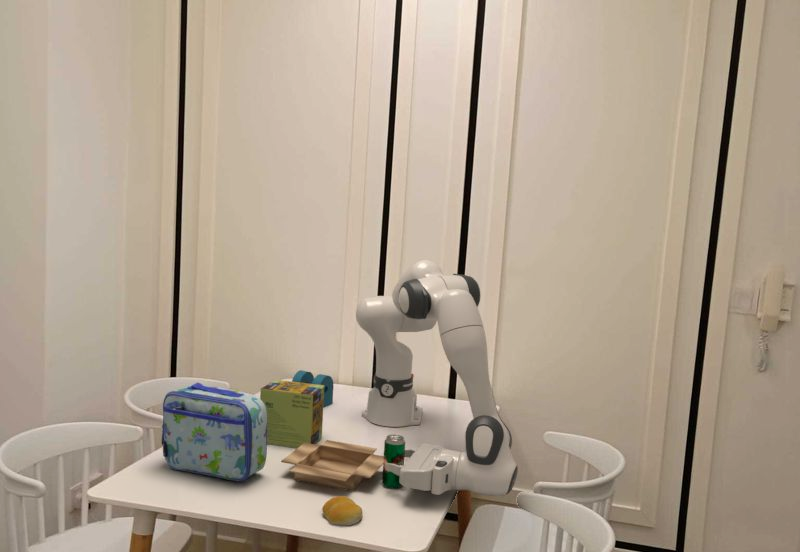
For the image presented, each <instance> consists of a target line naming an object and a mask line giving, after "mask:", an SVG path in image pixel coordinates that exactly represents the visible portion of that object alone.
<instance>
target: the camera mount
mask: <svg viewBox="0 0 800 552" xmlns="http://www.w3.org/2000/svg"><path fill="white" fill-rule="evenodd" d="M291 382H300V383H308V384H316V385H324V402H323V409H324V408H327V407H328V406H331V405H333V401H334V400H333V399H334V380H333V378H332V376H330V375H326V374H317V375H316V376H315V377H314V374H313V373H312V372H311V371H306V370H303V369H300V370H298V371H297V372H296V373H295V374H294V376H293V377H292V380H291ZM326 406H327V407H326Z"/></svg>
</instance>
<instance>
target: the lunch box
mask: <svg viewBox="0 0 800 552" xmlns="http://www.w3.org/2000/svg"><path fill="white" fill-rule="evenodd" d="M162 411H163V413H162V414H163V416H162V425H161V428H162V430H161V433H162V434H161V445H162V456H163V457H164V459H165V462H166V464H167V466H168V467H169V468H170V469H171V470H173V471H182V472H189V473H194V474H200V475H203V476H204V475H205V476H210V477H214V478H219V479H224V480H228V481H232V482H234V481H235V482H244V481H246V480H247V479H248V478H249V477H250V476H252V475H254V474H256V473H257V472H260V471H261V470H263V469H264V467H265V465H266V462H267V461H266V460H267V454H268V453H267V450H268V444H267V411H266V407H265V405H264V403H263V401H262V400H261V399H260V397H258V396H256V395H254V394H251V393H248V392H243V391H240V390H233V389H230V388H223V387H218V386H209V385H205V384H204V385H203V384H202V383H200V382H196V383H193V384H189V385H186V386H184V387H183V388H180V389H176V390H174V391H172V390H171V391H169V392H167V393H166V394H165V396H164V398H163V401H162Z"/></svg>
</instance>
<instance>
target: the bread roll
mask: <svg viewBox="0 0 800 552" xmlns="http://www.w3.org/2000/svg"><path fill="white" fill-rule="evenodd" d="M321 509H322V514H323V516H324V518H326V520H328V522H329V523H330V524H332V525H336V526H351V525H352V526H353V525H355V524H357V523H359V521H361V519H362V517H363V509H362V507H361V506H360V505H358V504H357V503H356V502H355V501H354V500H353V499H352V498H351V497H348V496H344V495H337V496H334V497H332V498H330V499H328V500H327V501H326V502H325V503H324V504H323V506H322V508H321Z"/></svg>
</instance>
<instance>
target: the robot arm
mask: <svg viewBox="0 0 800 552" xmlns="http://www.w3.org/2000/svg"><path fill="white" fill-rule="evenodd" d="M391 294H392V295H375V296H369V297H364V298H362V299H361V300H360V301H359V303H358V305H357V306H356V310H355V318H356V322H357V324H358V326H359V327H360V328H361V329H362V330H363V331H365V332H366V333H367V335H369V337H370V338H371V340H372V342H373V345H374V347H375V357H376V359H375V360H376V361H375V363H376V364H375V374H374V375H373V388H371V389H370V390H369V391H368V394H367V395H368V397H367V404H366V405H367V406H366V410H364V411H362V413H361V417H363V418H365V419H367V421H369V422H370V423H372V424H375V425H377V426H383V427H388V428H389V427H392V428H395V427H396V428H398V427H399V428H400V427H407V426H419V425H421V421H422V417H423V412H424V410H423V407H421V406H417V399H418V397H417V393H416V392H415V390H414V388H413V386H414V376H415V375H414V373H413V372H412V370H413V353H412V350H411V348H409V346H407V345H406V344H404V343H402V342H400V341H399V340H397V333H418V332H425V331H429V330H432V329H433V328H434V327H435V326H436V324H437V326H438V331H439V337H440V342H441V345H442V349H443V352H444V354H445V357H446V358H447V361H448V363H449V365H450V366H451V367H452V369H453V370H454V371H455V372H456V374H457V375H458V377H459V378H460V380H461V381H462V383H463V385H464V388H465V391H466V394H467V398H468V401H469V406H470V410H471V413H472V418H473V419H471V421H470V422H469V423H468V424H467V426H466V429H465V432H464V439H465V451H458V450H453V449H448V448H446V447H444V446H441V445H436V444H432V443H420V445H418V447H417V448H405V457H404V458H408V459H407V460H406V462H404V465H400V466H398V465H396V464H394V462H387V464H386V465H385V470H386V471H390V472H393V473H394V474H396V475H398V476H399V483H400V484H402V485H401V486H404V487H405V488H410V489H414V490H419V491H424V492H425V491H430V492H431V494H433V495H437V496H438V495H441V494H443V493H445V492H449V491H451V490H454V491H469V492H470V493H473V494H477V495H483V496H488V497H489V496H491V497H504V496H506V495H509V493H511V491H512V490H513V488H514V485H515V483H516V480H517V477H518V476H517V475H518V470H519V468H518V464H517V463H516V461H515V460H514V457H513V455H512V452H511V450H512V444H513V437H512V436H513V435H512V432H511V431H510V428H509V427H508V426H507V424H506V423H505V422H504V421H503V419H502V418H501V416H500V415H499V414H500V413H499V412H498V408H497V405H496V401H495V397H494V392H493V389H492V385H491V382H490V381H491V380H490V375H489V373H490V372H489V359H488V345H487V337H486V331H485V327H484V323H483V319H482V317H481V314H480V311H479V305H480V301H481V289H480V286H479V283H478V282H477V280H476V279H475V278H473V277H472V276H470V275H466V274H459V273H453V274H444V272H443V270H442V268H441V267H440V266H439V265H438V264H437V263H436V262H435V261H432V260H429V259H421V260H418V261H417V262H415V263H413V265H412V264H411V266H410V267H409V268H408V269H406V271H405V272H404V273H403V275H401V277H400V279H398V281H397V283H395V285H394V287H393V289H392V293H391Z"/></svg>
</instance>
